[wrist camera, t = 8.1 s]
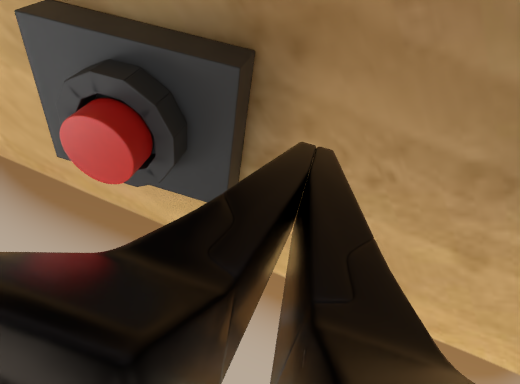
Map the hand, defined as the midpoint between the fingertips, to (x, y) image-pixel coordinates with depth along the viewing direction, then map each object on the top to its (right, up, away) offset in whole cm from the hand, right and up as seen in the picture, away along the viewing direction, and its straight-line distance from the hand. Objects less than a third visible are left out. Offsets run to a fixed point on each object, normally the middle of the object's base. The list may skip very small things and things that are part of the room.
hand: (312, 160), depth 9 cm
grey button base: (-8, +5, +15) cm, 18 cm away
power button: (-10, +3, +12) cm, 16 cm away
